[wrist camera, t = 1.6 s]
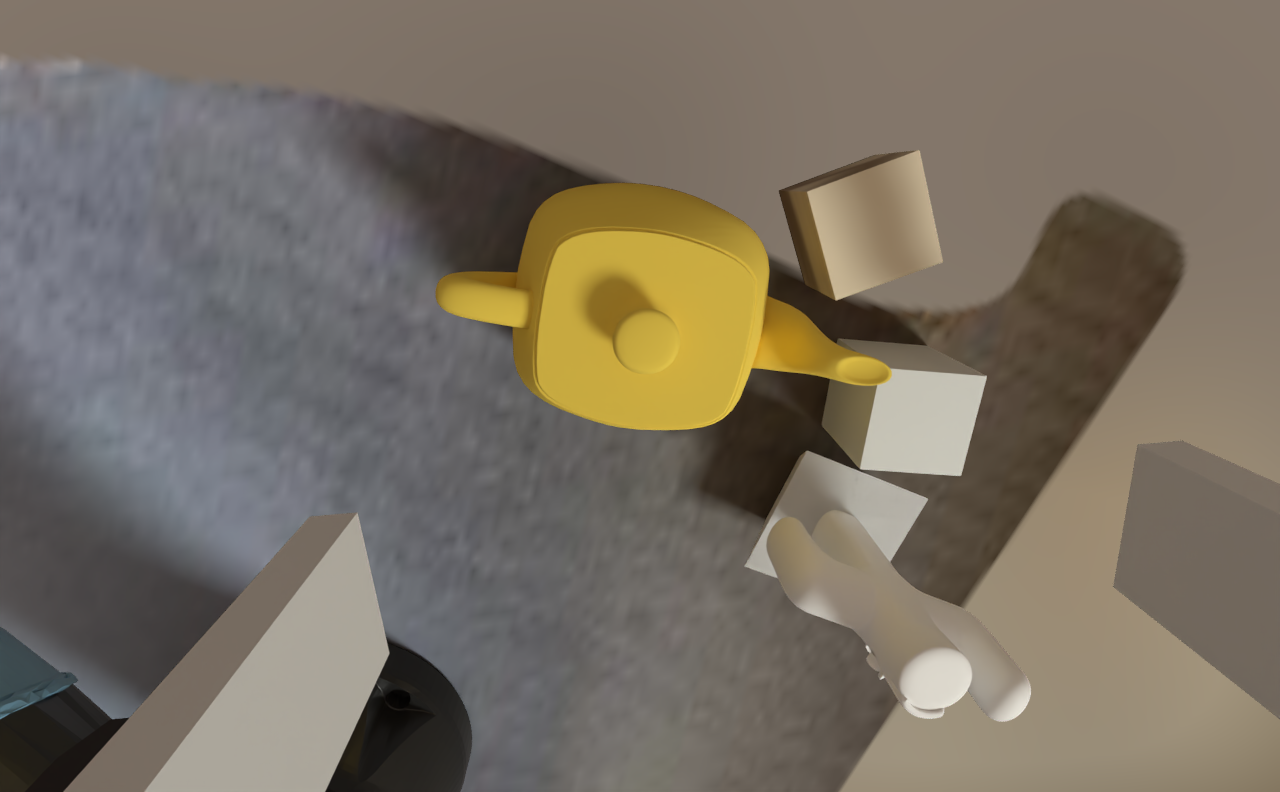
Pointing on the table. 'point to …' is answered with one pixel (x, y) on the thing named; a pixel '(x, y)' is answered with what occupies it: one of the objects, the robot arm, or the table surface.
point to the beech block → (862, 224)
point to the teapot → (646, 310)
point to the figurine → (881, 590)
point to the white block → (906, 411)
